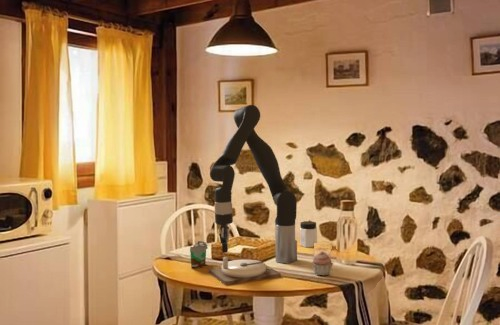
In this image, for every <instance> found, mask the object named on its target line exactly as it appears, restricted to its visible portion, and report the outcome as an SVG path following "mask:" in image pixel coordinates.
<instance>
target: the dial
mask: <svg viewBox="0 0 500 325" xmlns="http://www.w3.org/2000/svg"><path fill="white" fill-rule="evenodd" d="M266 265H267V264H266V263H265V262H263V261H261V260H255V259H233V260H229V257H227V256H224V257H222V264H221V267H222V273H223V274H224V275H227V276H230V277H239V278H246V277H255V276H259V275H262V274H264V273H265V272H266Z"/></svg>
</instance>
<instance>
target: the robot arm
mask: <svg viewBox="0 0 500 325" xmlns="http://www.w3.org/2000/svg"><path fill="white" fill-rule="evenodd" d="M233 119H234V124H236V128H237V129H236V131H235V132H234V133H233V134H232V136H231V137H230V139H229V140H228V141H227V143H226V145H225V147H224V148H223V151H222V152H221V153H222V154H221V155H220V156H218V158H217V159H216V161H215V162H214V163H213V165H212V166H211V168H210V170H209V176H210V179H211V180H212V181H213V182H217V183H218V182H221V183H222V185H221V186H219V187H216V188H215V190H214V222H215V224H217V225H220V226H219V228H218V233H219V239H220V244H221V252H222V253H228V250H229V248H228V247H229V244H228V243H229V237H230V226H229V225H230V224H232V223H233V221H234V218H233V213H234V212H233V201H232V189H233V184H234V181H235V175H236V173H235V170H234V167H233V165H235V164H236V163H237V161H238V159H239V158H240V155H241V152H242V150H243V148H244V146H245V144H247V147H248V148H249V150H250V152H251V155H252V156H253V160H254V161H255V163H256V165H257V166H256V167H258V170H259V172H260V173H261V175H262V177H263V179H264V180H265V183H266V184H267V186H268V189H269V191H270V194H271V196H272V200H273V203H274V205H275V206H276V217H275V218H274V226H275V227H274V230H275V231H274V232H275V233H274V236H275V237H274V238H275V241H274V242H275V247H274V248H275V256H274V257H275V261H276V262H277V263H280V264H291V263H294V262H297V261H298V241H297V240H296V219H297V206H298V205H297V197H296V195H295V194H294V192H292V191H291V190H289V189H288V187H287V185H286V183H285V182H284V178H282V174H281V170H280V164H279V162H278V159H277V156H276V154H275V152H274V151H273V149H272V147H271V146H270V145H269V144H268V143H267V142H266V141H265V140H264V139H262V138H261V137H260V135H259V134H257V132H256V130H255V128H256V126H257V125H258V123H259V121H260V120H261V111H260V109H259V108H258V107H257V106H256V105H255V104H248V105H245V106H242V107H240V108H238V109H236V110H235V111H234V114H233Z"/></svg>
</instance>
